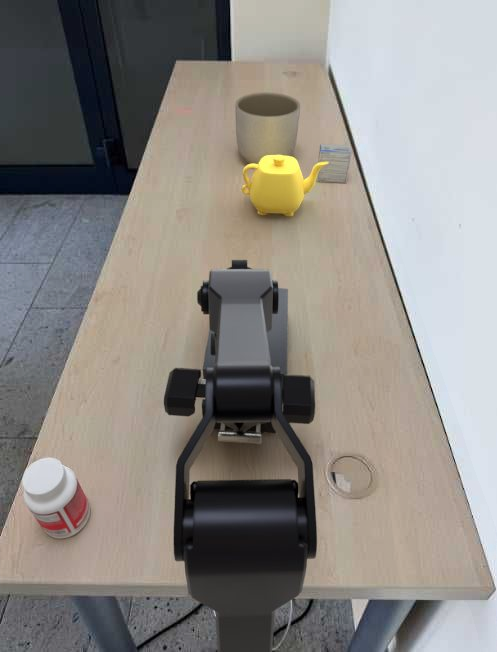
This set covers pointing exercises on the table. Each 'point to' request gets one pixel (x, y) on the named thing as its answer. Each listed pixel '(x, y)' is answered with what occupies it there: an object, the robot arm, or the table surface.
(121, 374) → the table surface
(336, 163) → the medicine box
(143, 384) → the table surface
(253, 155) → the planter
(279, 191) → the teapot
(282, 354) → the cabinet
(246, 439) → the drawer
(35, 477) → the pill bottle
